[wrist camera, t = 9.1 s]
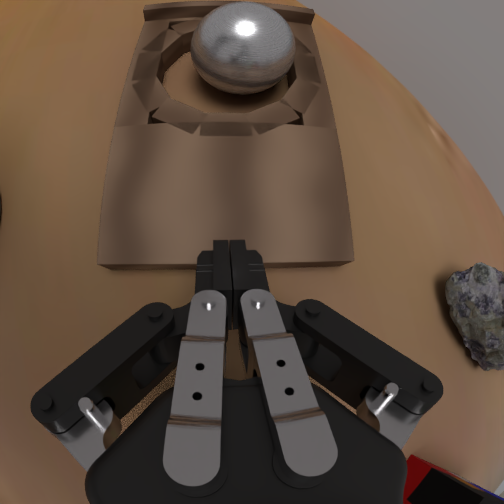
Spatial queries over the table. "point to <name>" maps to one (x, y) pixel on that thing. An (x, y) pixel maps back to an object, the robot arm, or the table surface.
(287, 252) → the wooden ball holder
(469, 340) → the mineral rock
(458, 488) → the puzzle toy
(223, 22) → the steel ball
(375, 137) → the table surface
